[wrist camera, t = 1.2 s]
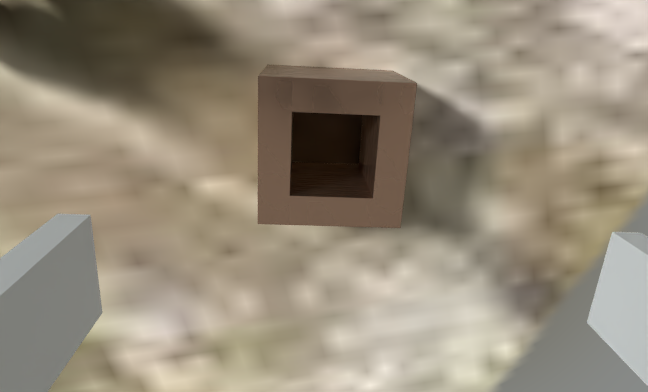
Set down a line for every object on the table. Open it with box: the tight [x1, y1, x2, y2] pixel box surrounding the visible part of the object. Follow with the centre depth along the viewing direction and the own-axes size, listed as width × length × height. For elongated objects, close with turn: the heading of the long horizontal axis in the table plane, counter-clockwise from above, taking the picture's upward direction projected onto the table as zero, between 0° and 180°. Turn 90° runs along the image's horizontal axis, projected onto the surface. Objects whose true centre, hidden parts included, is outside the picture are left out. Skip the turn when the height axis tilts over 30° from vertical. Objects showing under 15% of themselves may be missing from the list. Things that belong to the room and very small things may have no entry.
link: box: [258, 65, 417, 228], centre depth 25 cm, size 7×7×6 cm
